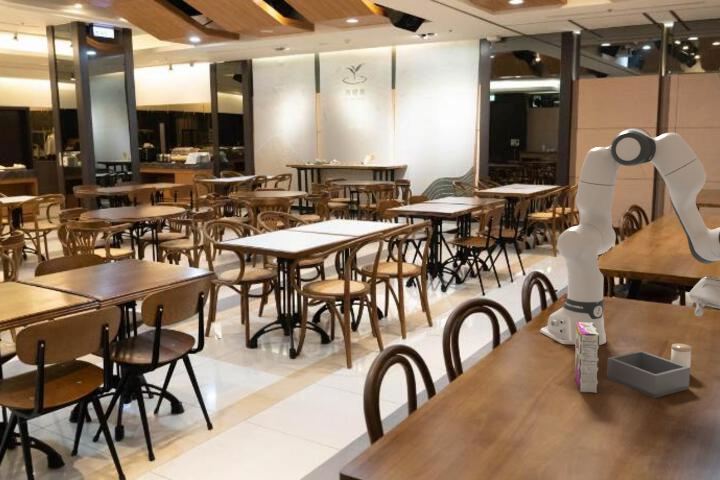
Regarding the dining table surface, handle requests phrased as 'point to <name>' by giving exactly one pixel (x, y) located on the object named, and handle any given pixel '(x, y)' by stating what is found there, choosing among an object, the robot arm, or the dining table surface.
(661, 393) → the tote
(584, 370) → the candy bar box
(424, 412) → the dining table surface
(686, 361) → the jar
